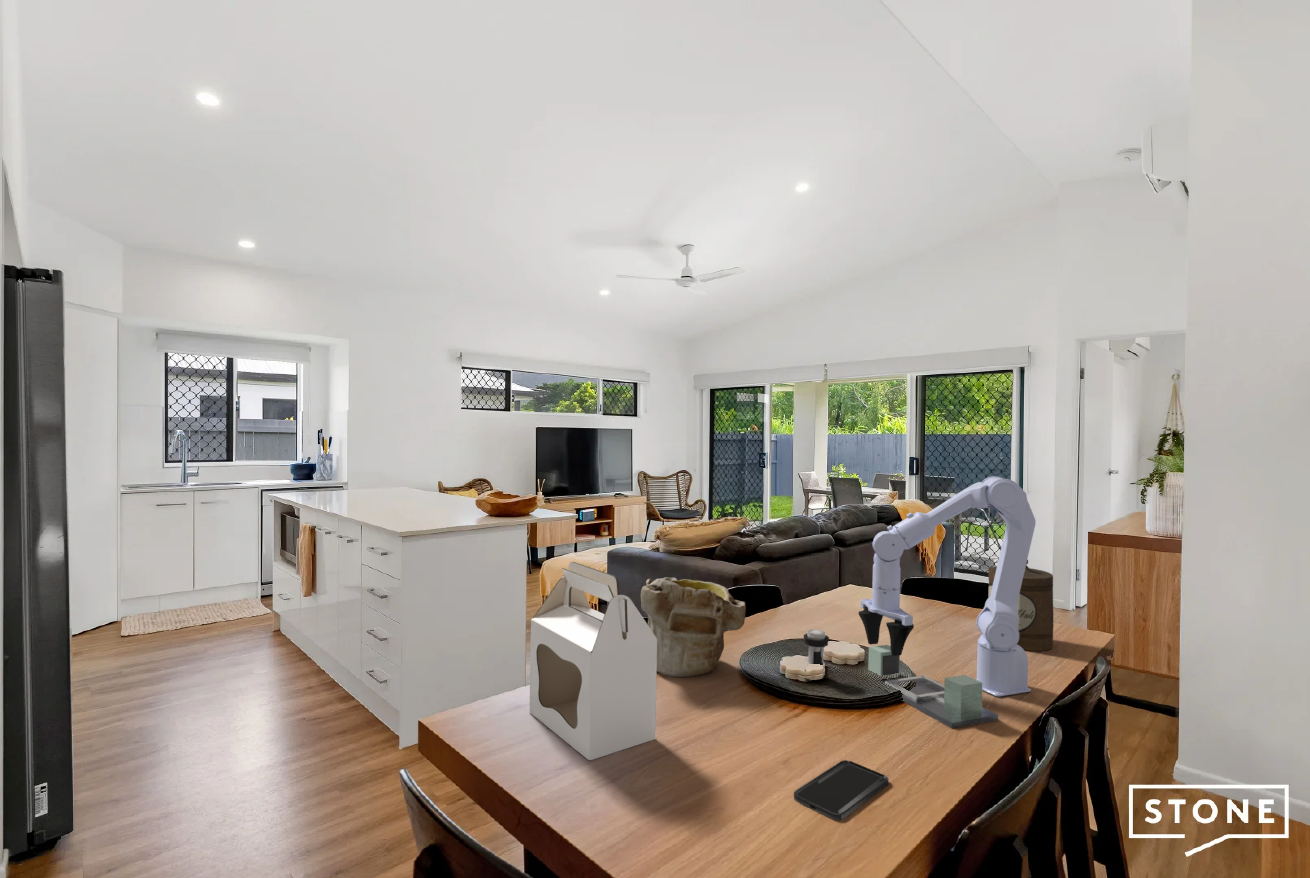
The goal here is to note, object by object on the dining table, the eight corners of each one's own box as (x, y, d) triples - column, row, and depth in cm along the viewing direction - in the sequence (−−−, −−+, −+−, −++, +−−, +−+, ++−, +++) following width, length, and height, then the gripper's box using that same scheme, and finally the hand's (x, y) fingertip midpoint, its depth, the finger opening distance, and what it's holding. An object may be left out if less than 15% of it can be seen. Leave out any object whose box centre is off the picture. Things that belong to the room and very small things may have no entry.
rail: (878, 687, 137) (878, 653, 136) (920, 681, 140) (921, 648, 140) (951, 728, 118) (952, 689, 118) (998, 720, 122) (999, 682, 121)
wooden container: (974, 637, 172) (976, 553, 172) (1012, 630, 179) (1014, 550, 178) (1027, 654, 159) (1029, 564, 159) (1066, 647, 165) (1068, 560, 165)
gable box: (528, 712, 121) (530, 561, 121) (589, 696, 129) (592, 555, 129) (589, 762, 104) (592, 585, 103) (656, 740, 111) (659, 576, 111)
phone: (891, 778, 99) (839, 816, 89) (891, 785, 99) (838, 825, 89) (844, 758, 105) (790, 792, 94) (844, 765, 105) (789, 800, 94)
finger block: (868, 674, 144) (868, 646, 144) (886, 671, 146) (887, 644, 146) (881, 681, 140) (882, 653, 140) (900, 678, 142) (901, 651, 142)
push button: (810, 686, 137) (811, 638, 136) (792, 677, 141) (793, 631, 141) (833, 680, 140) (834, 633, 140) (816, 672, 144) (817, 627, 144)
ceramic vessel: (740, 610, 163) (747, 543, 147) (742, 703, 144) (749, 636, 128) (649, 605, 165) (646, 538, 149) (639, 695, 146) (634, 629, 130)
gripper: (850, 580, 148) (848, 640, 148) (894, 596, 135) (892, 662, 135) (875, 579, 151) (874, 637, 151) (921, 594, 137) (919, 659, 137)
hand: (884, 649), depth 143 cm, fingers open, 7 cm apart
